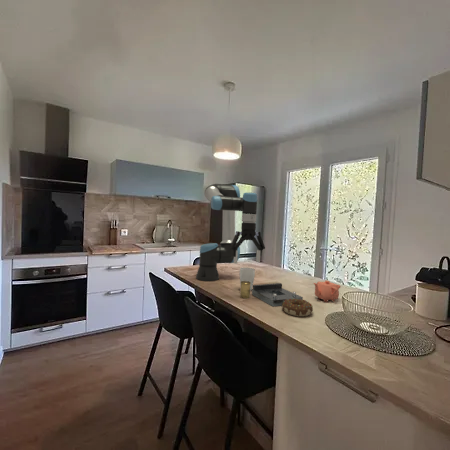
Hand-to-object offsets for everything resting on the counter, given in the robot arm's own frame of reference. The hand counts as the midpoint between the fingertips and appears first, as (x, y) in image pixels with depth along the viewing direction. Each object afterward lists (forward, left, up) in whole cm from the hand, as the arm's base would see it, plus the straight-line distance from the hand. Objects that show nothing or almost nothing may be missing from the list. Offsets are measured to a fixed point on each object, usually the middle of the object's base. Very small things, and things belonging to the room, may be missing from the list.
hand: (246, 262), depth 140 cm
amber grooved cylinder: (0, 0, -18) cm, 18 cm away
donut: (+26, +13, -19) cm, 34 cm away
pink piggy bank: (+16, +41, -19) cm, 48 cm away
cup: (-13, +8, -19) cm, 24 cm away
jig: (+7, +15, -18) cm, 25 cm away
